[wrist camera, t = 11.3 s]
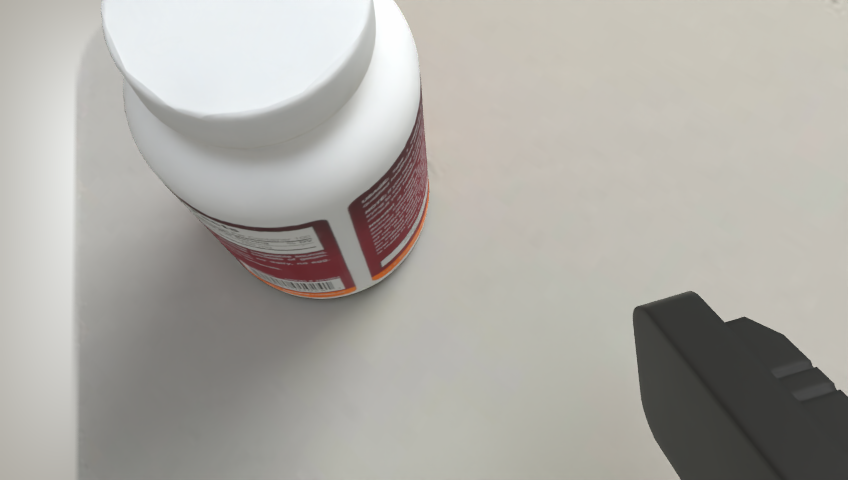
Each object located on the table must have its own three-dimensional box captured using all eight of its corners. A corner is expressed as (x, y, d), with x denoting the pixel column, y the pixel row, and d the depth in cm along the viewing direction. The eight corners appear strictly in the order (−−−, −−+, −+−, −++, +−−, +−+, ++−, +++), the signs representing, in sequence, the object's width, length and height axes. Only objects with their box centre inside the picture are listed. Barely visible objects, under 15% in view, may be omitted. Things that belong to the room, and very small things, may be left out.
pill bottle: (370, 76, 25) (321, -208, 15) (466, 241, 24) (488, 53, 13) (190, 165, 25) (4, -67, 14) (277, 342, 23) (140, 228, 13)
